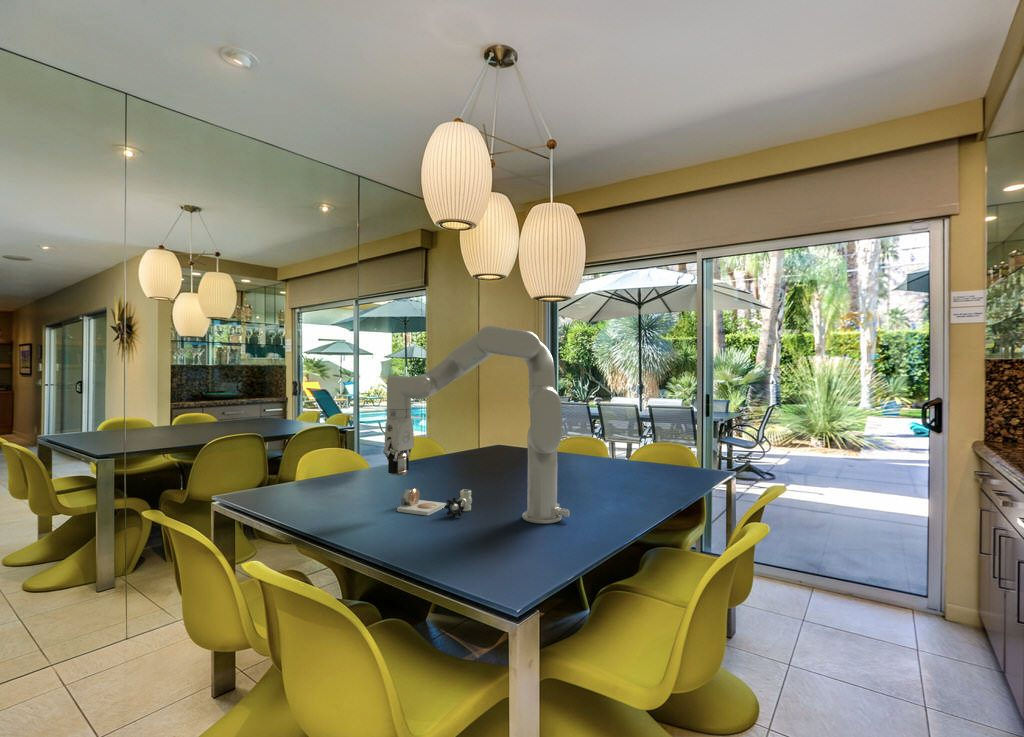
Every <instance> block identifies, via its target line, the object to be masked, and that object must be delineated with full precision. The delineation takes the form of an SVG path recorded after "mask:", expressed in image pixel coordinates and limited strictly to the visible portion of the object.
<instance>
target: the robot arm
mask: <svg viewBox="0 0 1024 737" xmlns="http://www.w3.org/2000/svg"><path fill="white" fill-rule="evenodd" d="M494 355H500V356H506V357H514V358H519V359H521V360H523V361H525V363H526V365H527V368H528V369H527V370H528V372H527V374H528V398H527V399H528V400H527V402H528V406H529V415H530V416H529V419H530V421H529V422H530V423H529V427H528V429H527V435H526V438H527V498H526V500H527V507H526V508H527V509H526V511H524V512H523V513H522V516H521V517H522V518H521V519H523V520H524V521H526V522H529V523H531V524H554V523H558V522H560V521H561V520H562V518H563V517H567V518H569V517H570V510H569V509H568V508H562V507H560V504H561V503H558V448H559V447H560V444H561V442H562V432H563V431H562V401H561V397H560V394H559V393H558V392H557V391H556V371H555V363H554V358H553V356H552V354H551V352H550V350H549V349H548V347H547V346H546V345H545V344H544V343H543V342H541V340H540V338H539V337H538V335H537V334H536V333H535V332H532V331H529V330H523V329H516V328H510V327H509V328H507V327H502V326H498V325H497V326H495V325H486V326H484V327H482V328H481V329H479V331H478V332H477V333H476V334H475V335H473V336H472V337H470V338H469V339H467V340H466V341H464V343H462V344H460V345H459V346H457V347H456V348H454V349H453V350H451V351H450V352H449V353H448V354H447V356H445V358H444V359H443V360H442V361H441V362H439V363H438V364H437V365H435V366H434V367H432V368H431V369H430V370H428V371H427V372H425V373H423V374H420V375H413V376H408V375H390V376H388V377H387V380H386V423H385V430H384V448H383V450H382V453H383V454H384V455H385V458H386V460H387V461H388V463H387V464H388V465H387V468H388V469H387V470H388V472H387V473H388V474H390V475H391V474H397V473H398V461H396V460H397V455H398V452H406V454H407V457H406V469H407V471H409V469H410V467H409V466H410V465H409V463H410V462H409V460H410V457H411V455H410V454H411V451H412V449H413V448H414V446H415V438H414V437H415V436H414V435H415V434H414V424H413V418H412V399H418V400H425V399H427V398H428V399H429V398H431V397H432V396H434V395H435V394H437V393H438V392H441V390H443V389H444V388H445V387H447V386H448V385H450V384H452V383H453V382H455V380H457V379H459V378H461V377H463V376H465V375H466V374H467V373H469V372H471V371H472V370H473V369H475V368H476V367H477V366H479V365H480V364H482V363H483V362H485V361H486V360H488V359H490V358H491V357H492V356H494ZM392 453H394V456H393V454H392Z"/></svg>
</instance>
